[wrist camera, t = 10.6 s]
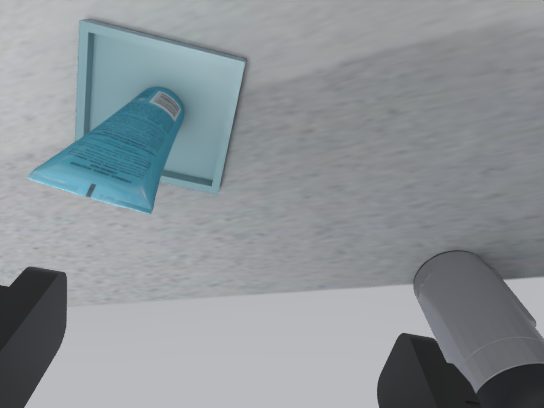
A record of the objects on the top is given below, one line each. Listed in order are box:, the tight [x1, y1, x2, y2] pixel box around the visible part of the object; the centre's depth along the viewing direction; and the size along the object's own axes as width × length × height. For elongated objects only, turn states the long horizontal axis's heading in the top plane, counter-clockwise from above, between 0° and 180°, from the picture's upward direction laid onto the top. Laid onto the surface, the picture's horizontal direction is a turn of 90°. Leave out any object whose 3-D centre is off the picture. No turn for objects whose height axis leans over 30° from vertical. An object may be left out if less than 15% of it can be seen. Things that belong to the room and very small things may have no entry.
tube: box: [27, 87, 184, 215], centre depth 34 cm, size 7×5×19 cm, turn 75°
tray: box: [75, 19, 246, 195], centre depth 42 cm, size 15×14×2 cm
